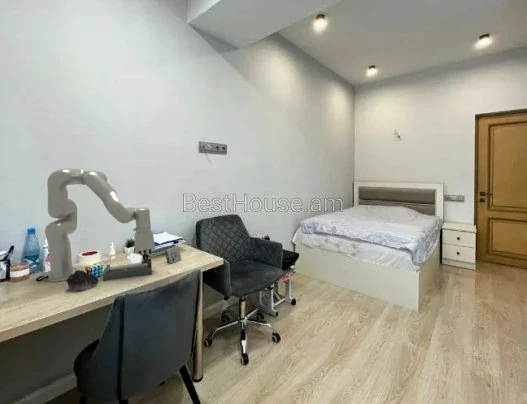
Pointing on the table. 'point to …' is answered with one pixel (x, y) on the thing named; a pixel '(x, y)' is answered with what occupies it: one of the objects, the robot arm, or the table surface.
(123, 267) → the thin grey rod
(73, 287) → the crystal cluster
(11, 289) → the table surface
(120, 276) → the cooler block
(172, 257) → the electrical switch
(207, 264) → the table surface
